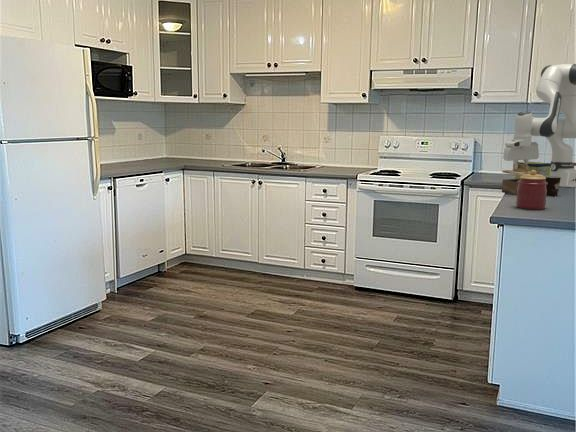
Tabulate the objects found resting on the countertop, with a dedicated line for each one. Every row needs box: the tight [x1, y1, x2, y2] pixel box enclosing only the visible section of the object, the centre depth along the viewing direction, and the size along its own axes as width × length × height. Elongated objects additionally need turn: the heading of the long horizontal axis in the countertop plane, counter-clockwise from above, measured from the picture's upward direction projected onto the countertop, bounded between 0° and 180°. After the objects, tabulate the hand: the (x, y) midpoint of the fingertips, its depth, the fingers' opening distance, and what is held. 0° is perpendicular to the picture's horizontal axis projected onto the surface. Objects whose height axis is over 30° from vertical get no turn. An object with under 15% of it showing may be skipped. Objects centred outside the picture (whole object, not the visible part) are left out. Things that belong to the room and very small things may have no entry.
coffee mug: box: [544, 176, 561, 197], centre depth 293 cm, size 12×9×10 cm
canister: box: [515, 170, 548, 210], centre depth 257 cm, size 13×13×18 cm
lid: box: [501, 163, 539, 175], centre depth 299 cm, size 13×13×5 cm
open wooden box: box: [501, 178, 520, 196], centre depth 301 cm, size 12×12×7 cm
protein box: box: [514, 160, 551, 179], centre depth 313 cm, size 10×16×16 cm
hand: (520, 168), depth 299 cm, fingers closed on lid, 3 cm apart
